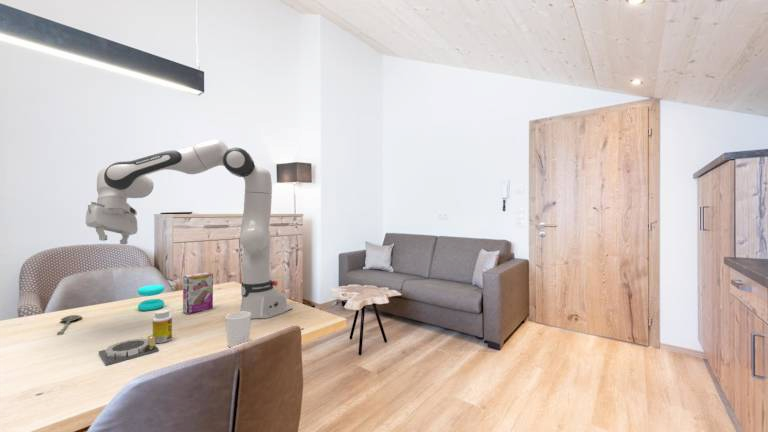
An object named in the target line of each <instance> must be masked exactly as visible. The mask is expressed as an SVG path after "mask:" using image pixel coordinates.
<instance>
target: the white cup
mask: <svg viewBox="0 0 768 432" xmlns="http://www.w3.org/2000/svg"><path fill="white" fill-rule="evenodd" d="M251 319H252V318H251V313H250V312H246V311H241V312H240V311H235V312H230V313H228V314H226V315H225V331H226V339H227V347H228V348H230V347H233V346H236V345H239V344H242V343H245V342H248V341H249V342H250V338H251V337H250V336H251V324H252V323H251V321H252V320H251Z"/></svg>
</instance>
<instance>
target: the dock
mask: <svg viewBox="0 0 768 432" xmlns="http://www.w3.org/2000/svg"><path fill="white" fill-rule="evenodd" d="M159 350H160V349H159V347H158V346H156V343H155V335H153V334H151V335H149V336H147V338H132V339H128V340H123V341H119V342H117V343H113V344H111V345H109V346H108V347H107V348H105V349H102V350H99V351H98V355H99V357H100V358H101V360H102V361H103V364H104V365H105V366H110V365H113V364H117V363H121V362H124V361H128V360H131V359H136V358H139V357H143V356H145V355H147V356H148V355H149V354H153V353H158V352H159Z"/></svg>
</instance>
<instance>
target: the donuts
mask: <svg viewBox="0 0 768 432" xmlns="http://www.w3.org/2000/svg"><path fill="white" fill-rule="evenodd" d="M164 290H165V287H164V286H163V285H161V284H153V285H150V284H149V285H145V286H141V287H139V288H138V289H137V294H138V295H139V296H141V297H151V296H156V295H160V294H161V293H163V292H164ZM164 305H165V302H164V300H162V299H160V298H159V299H158V298H152V299H146V300H143V301H141V302H140V303H139V304H138V305H137V309H138V310H139V311H142V312H147V311H155V310H159V309H161V308H164Z"/></svg>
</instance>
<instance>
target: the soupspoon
mask: <svg viewBox="0 0 768 432" xmlns="http://www.w3.org/2000/svg"><path fill="white" fill-rule="evenodd" d="M80 318H83V316H81V315H79V314H75V315H74V314H73V315H67V316H64V317H61V319H60V321H63V322H66V323H64V326H63V327H62V328H61V329H60V330H59V331H58V332H57V333H56V335H57V336H60V335H64V334H65V332H64V331H65V330H66V328H67V327H68V325H69V323H70V322H73V321H75V320H77V319H80Z"/></svg>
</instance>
